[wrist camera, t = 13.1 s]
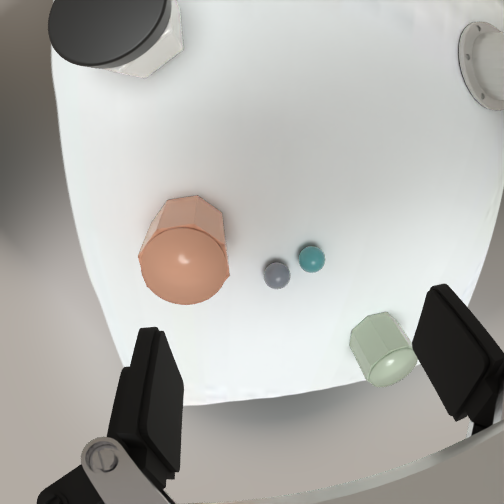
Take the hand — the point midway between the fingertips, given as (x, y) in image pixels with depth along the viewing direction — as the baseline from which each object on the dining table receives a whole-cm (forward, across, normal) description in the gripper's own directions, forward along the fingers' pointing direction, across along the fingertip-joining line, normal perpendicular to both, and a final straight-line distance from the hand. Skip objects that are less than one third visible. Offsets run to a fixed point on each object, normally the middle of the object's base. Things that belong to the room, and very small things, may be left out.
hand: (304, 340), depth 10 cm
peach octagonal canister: (+24, +7, +6) cm, 25 cm away
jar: (+24, +9, -15) cm, 30 cm away
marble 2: (+21, -6, +11) cm, 24 cm away
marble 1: (+21, -2, +12) cm, 24 cm away
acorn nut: (+24, -16, +26) cm, 39 cm away
